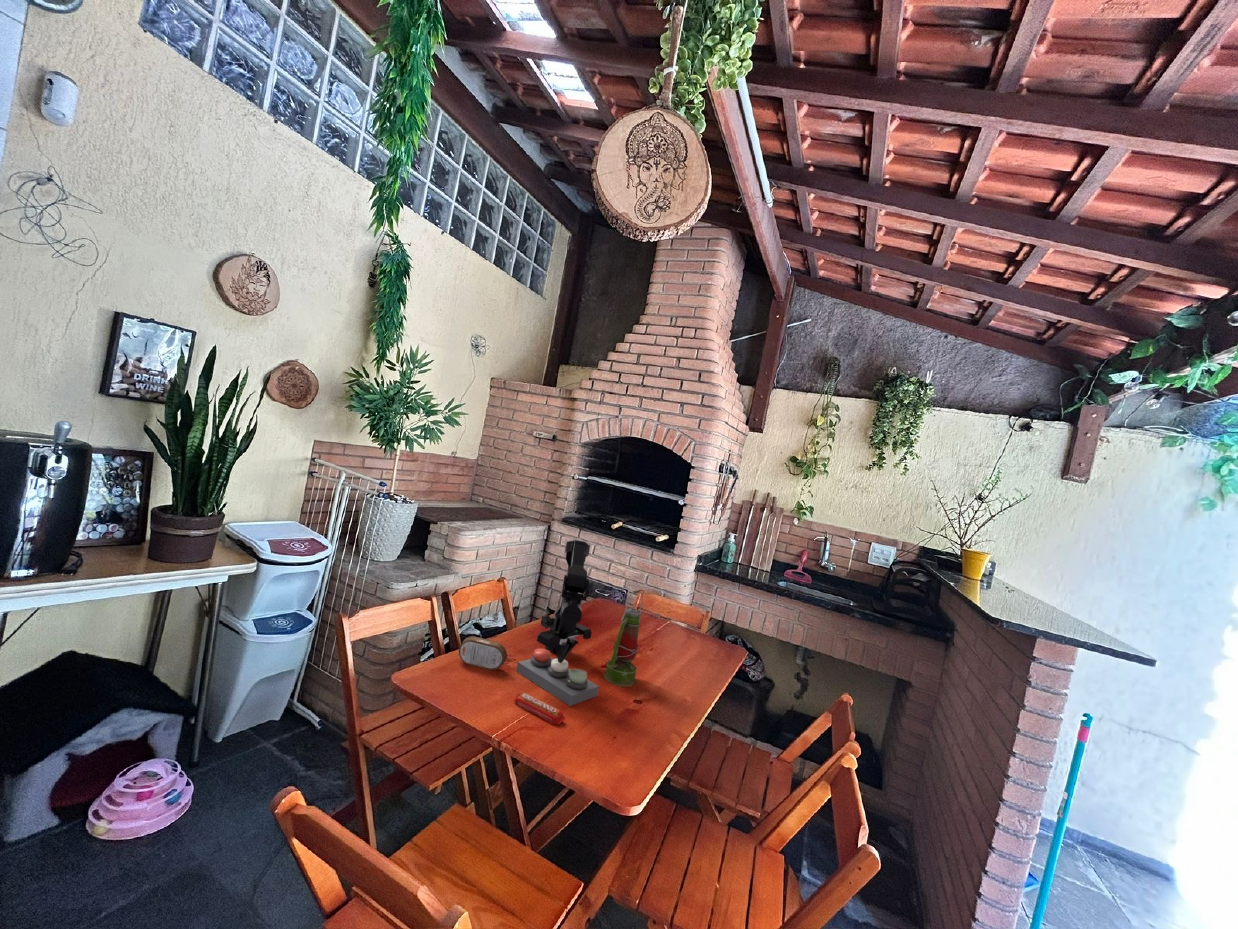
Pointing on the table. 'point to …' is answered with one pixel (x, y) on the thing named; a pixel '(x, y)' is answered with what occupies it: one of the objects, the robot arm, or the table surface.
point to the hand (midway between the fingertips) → (560, 662)
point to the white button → (559, 665)
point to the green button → (578, 676)
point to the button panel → (557, 681)
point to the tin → (482, 653)
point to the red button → (542, 655)
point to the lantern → (625, 649)
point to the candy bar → (539, 708)
